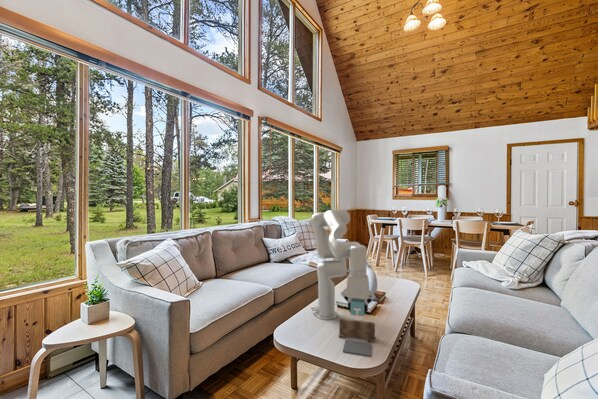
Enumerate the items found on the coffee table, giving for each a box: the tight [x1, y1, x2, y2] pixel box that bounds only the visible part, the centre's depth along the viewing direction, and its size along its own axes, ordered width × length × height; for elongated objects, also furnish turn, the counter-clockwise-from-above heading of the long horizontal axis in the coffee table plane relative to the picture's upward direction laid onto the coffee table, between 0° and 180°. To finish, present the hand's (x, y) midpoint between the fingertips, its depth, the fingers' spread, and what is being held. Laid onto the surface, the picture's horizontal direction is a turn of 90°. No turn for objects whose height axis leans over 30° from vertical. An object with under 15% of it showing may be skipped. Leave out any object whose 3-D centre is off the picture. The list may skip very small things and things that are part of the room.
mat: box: [342, 339, 372, 357], centre depth 127 cm, size 12×10×1 cm
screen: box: [338, 317, 376, 344], centre depth 137 cm, size 17×6×8 cm, turn 74°
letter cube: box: [349, 298, 366, 317], centre depth 127 cm, size 6×6×6 cm
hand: (357, 311), depth 127 cm, fingers closed on letter cube, 6 cm apart
